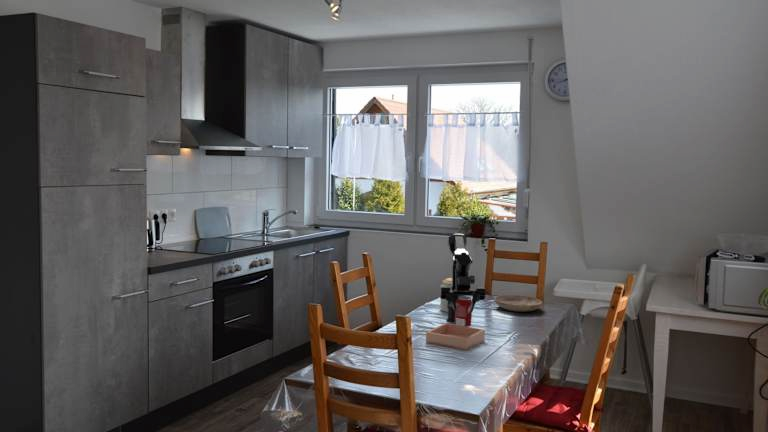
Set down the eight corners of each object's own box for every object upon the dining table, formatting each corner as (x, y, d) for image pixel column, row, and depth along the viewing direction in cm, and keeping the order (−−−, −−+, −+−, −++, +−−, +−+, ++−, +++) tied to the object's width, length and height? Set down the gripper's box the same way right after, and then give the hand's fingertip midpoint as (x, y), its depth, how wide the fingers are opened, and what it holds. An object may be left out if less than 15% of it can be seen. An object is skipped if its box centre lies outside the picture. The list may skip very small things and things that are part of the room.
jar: (470, 309, 340) (472, 274, 338) (459, 314, 329) (460, 278, 327) (447, 305, 347) (448, 271, 345) (435, 310, 336) (436, 275, 334)
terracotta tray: (425, 342, 280) (426, 332, 280) (445, 333, 295) (446, 323, 295) (466, 350, 271) (466, 339, 270) (484, 340, 286) (484, 329, 286)
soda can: (464, 329, 278) (466, 300, 276) (451, 325, 282) (452, 297, 281) (474, 326, 283) (475, 298, 281) (460, 323, 287) (462, 295, 286)
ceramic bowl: (513, 316, 328) (514, 306, 327) (484, 306, 348) (485, 296, 348) (551, 312, 338) (552, 302, 338) (521, 302, 359) (521, 293, 358)
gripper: (441, 267, 284) (442, 300, 274) (486, 268, 284) (489, 301, 274) (439, 282, 293) (440, 314, 283) (483, 283, 292) (485, 315, 283)
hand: (463, 311), depth 280 cm, fingers closed on soda can, 6 cm apart
